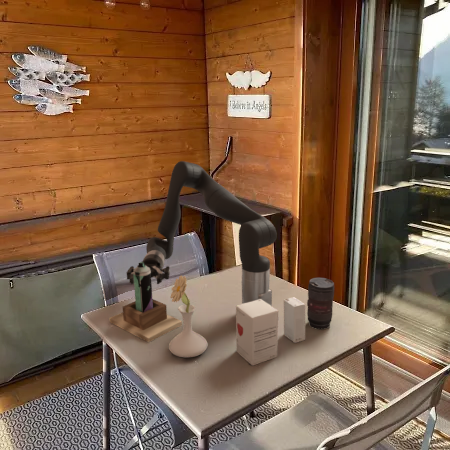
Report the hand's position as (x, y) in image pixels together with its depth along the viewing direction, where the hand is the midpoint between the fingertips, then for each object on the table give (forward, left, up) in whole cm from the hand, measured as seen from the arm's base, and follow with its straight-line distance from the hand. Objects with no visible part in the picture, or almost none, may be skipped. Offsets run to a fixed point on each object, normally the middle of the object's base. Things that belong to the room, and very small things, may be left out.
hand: (145, 281), depth 154 cm
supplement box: (-41, -6, -14) cm, 44 cm away
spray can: (-2, +3, -12) cm, 13 cm away
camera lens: (-46, -33, -14) cm, 59 cm away
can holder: (-2, +3, -13) cm, 14 cm away
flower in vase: (-25, +6, -14) cm, 29 cm away
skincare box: (-44, -21, -14) cm, 51 cm away
